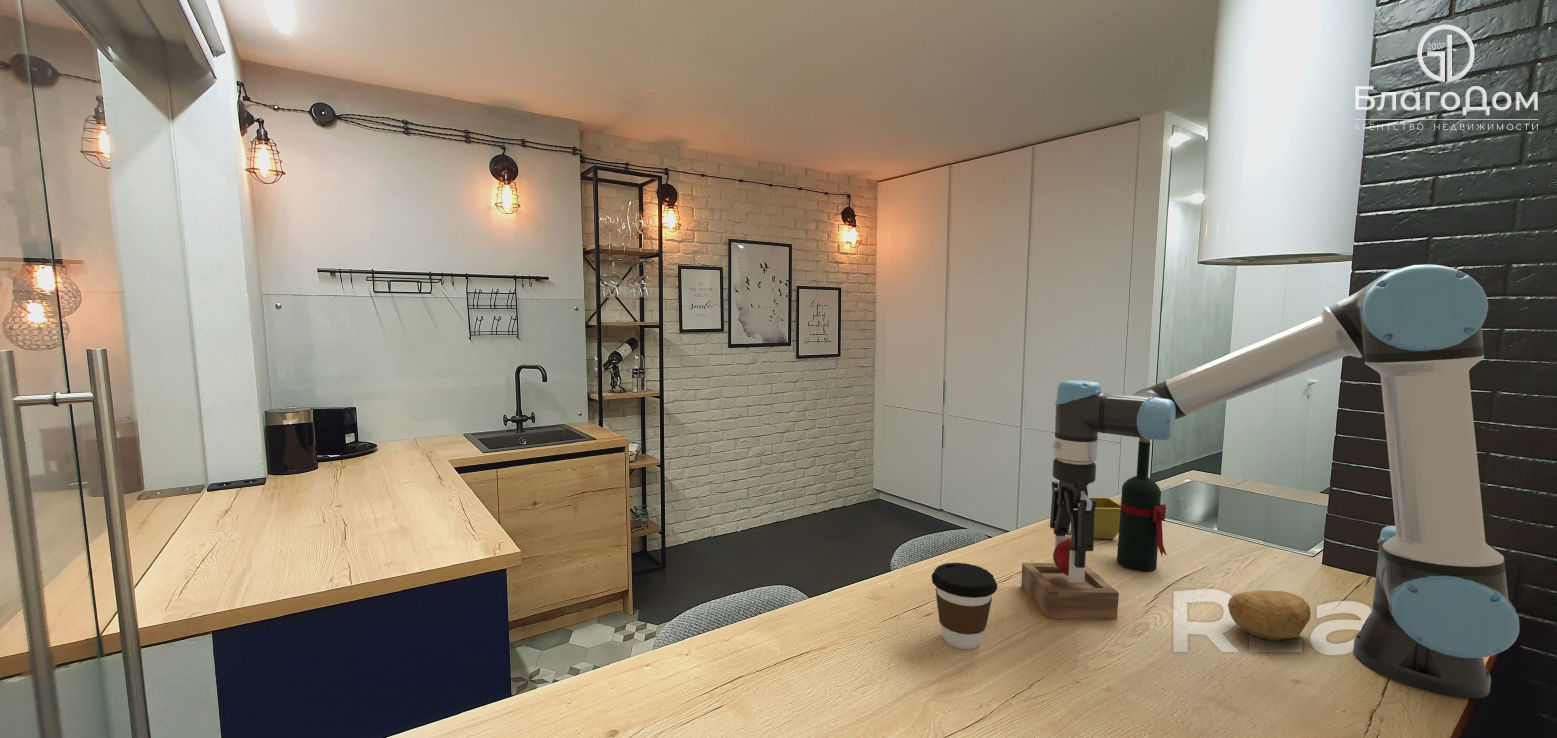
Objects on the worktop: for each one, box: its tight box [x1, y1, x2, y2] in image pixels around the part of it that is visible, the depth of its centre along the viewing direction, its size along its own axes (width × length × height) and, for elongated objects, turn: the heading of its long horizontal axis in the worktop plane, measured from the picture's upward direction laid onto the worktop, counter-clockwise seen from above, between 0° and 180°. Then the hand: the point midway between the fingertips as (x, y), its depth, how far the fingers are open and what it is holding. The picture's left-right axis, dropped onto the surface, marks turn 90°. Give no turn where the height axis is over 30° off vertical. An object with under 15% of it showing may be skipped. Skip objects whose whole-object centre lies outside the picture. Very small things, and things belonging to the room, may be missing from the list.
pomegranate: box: [1052, 535, 1086, 576], centre depth 118 cm, size 6×6×8 cm
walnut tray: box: [1020, 562, 1120, 620], centre depth 119 cm, size 13×13×5 cm
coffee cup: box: [931, 562, 998, 650], centre depth 104 cm, size 11×11×12 cm
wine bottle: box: [1116, 438, 1168, 573], centre depth 135 cm, size 8×10×30 cm
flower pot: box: [1076, 496, 1121, 540], centre depth 155 cm, size 9×9×9 cm
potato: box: [1227, 589, 1312, 641], centre depth 107 cm, size 10×14×8 cm
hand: (1068, 574), depth 118 cm, fingers closed on pomegranate, 6 cm apart
